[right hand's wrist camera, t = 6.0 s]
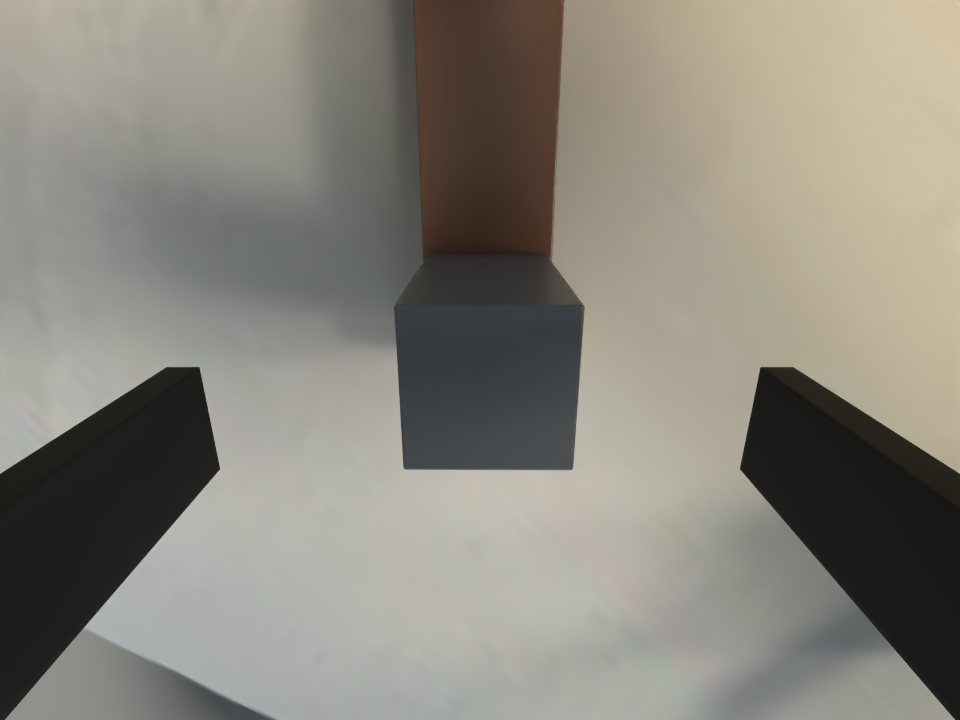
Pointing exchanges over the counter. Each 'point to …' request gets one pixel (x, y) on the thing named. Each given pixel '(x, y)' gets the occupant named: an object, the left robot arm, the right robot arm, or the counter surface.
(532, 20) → the walnut rail
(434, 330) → the grey block
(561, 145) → the counter surface
